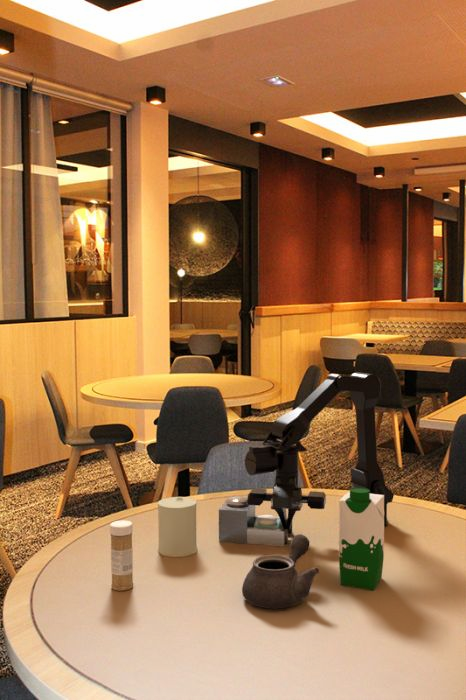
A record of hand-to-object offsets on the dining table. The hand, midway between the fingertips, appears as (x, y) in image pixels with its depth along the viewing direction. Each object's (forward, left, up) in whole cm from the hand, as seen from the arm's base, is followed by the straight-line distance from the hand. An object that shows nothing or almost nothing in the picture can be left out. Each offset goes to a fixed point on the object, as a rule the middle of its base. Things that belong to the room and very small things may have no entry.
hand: (286, 532), depth 175 cm
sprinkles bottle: (+29, +36, -2) cm, 46 cm away
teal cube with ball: (+5, 0, -2) cm, 5 cm away
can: (+24, +13, -2) cm, 27 cm away
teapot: (-4, +33, -2) cm, 33 cm away
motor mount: (+8, 0, -1) cm, 8 cm away
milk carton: (-19, +23, -2) cm, 30 cm away
